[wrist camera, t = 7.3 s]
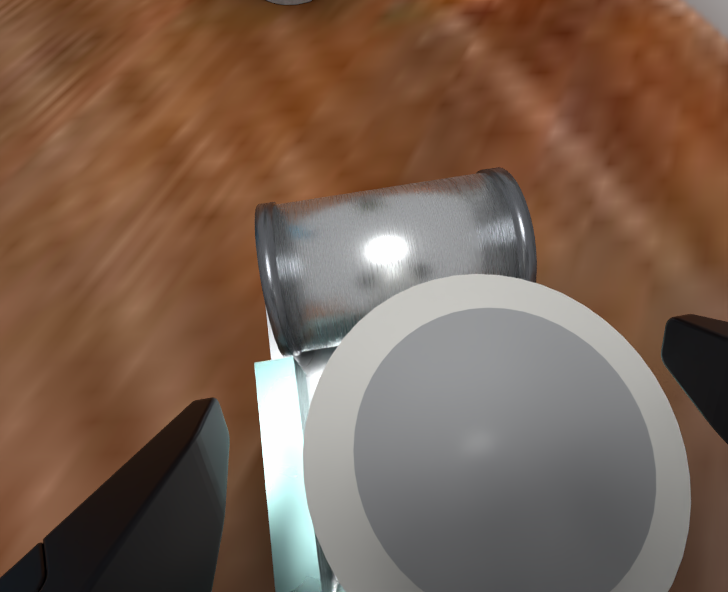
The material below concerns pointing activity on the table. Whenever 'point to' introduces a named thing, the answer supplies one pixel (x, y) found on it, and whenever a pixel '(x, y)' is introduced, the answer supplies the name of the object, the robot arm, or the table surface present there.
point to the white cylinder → (494, 448)
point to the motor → (358, 309)
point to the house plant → (289, 1)
